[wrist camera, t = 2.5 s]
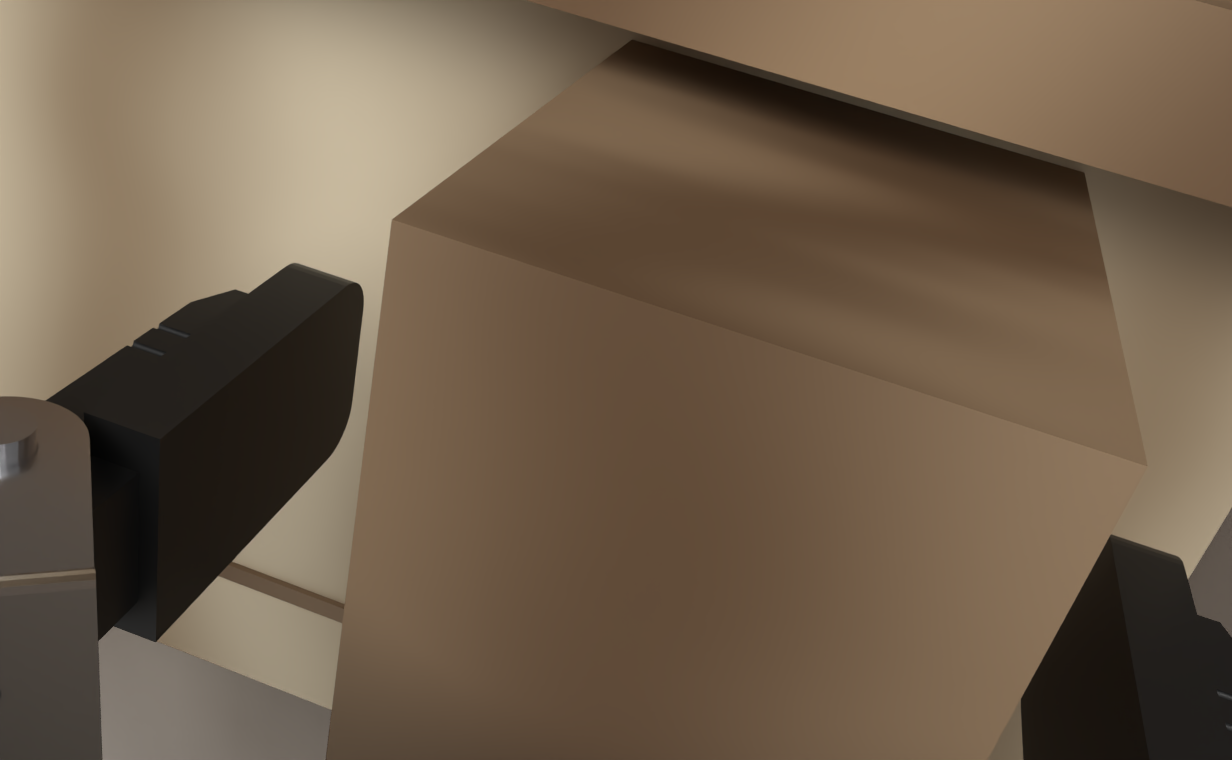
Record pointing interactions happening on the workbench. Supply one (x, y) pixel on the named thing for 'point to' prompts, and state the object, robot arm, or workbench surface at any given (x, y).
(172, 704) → the workbench surface
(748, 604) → the brown boxy piece
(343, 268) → the maple board
